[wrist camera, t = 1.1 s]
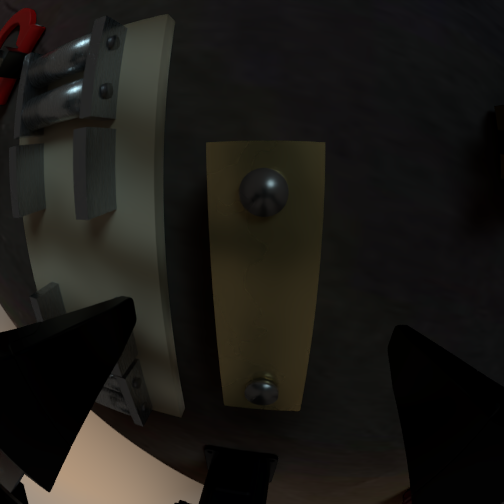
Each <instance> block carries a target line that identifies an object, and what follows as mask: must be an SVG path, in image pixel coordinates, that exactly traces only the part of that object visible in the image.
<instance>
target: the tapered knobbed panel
mask: <svg viewBox="0 0 504 504" xmlns="http://www.w3.org/2000/svg"><path fill="white" fill-rule="evenodd" d="M206 159H207V194H208V219H209V239H210V256H211V272H212V286H213V299H214V312H215V323H216V334H217V345H218V355H219V365H220V374H221V383H222V391H223V400H224V405H226V406H234V407H243V408H253V409H265V410H282V411H300V408H301V402H302V397H303V391H304V385H305V379H306V373H307V367H308V360H309V354H310V347H311V340H312V332H313V324H314V316H315V308H316V299H317V289H318V279H319V268H320V256H321V242H322V227H323V209H324V183H325V143H324V142H304V141H228V142H209V143H206Z"/></svg>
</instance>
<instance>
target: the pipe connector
mask: <svg viewBox="0 0 504 504" xmlns="http://www.w3.org/2000/svg"><path fill="white" fill-rule="evenodd" d="M494 107H495V113H496V120H497V128H498V130H501V131H504V105H500V106H494ZM500 162H501V178H502V179H504V154H500Z"/></svg>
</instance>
